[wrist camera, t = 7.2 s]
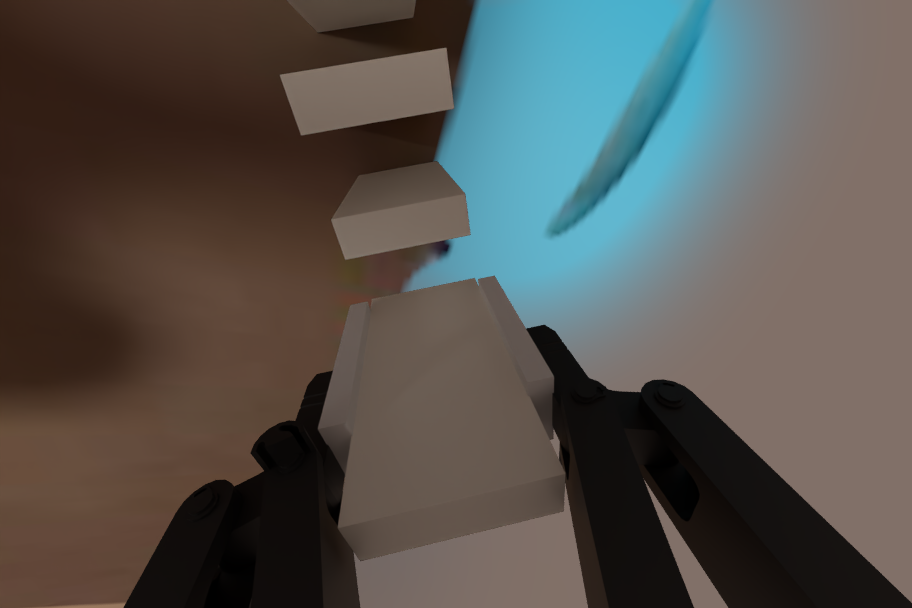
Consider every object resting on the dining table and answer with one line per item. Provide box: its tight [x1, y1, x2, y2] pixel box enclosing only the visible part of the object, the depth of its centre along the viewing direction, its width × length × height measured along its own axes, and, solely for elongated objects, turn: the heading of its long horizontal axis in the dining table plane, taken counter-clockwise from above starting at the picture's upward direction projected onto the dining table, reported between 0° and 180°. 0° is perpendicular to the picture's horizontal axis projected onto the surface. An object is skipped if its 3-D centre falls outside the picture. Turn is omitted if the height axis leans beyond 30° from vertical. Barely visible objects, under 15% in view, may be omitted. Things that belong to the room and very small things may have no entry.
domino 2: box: [331, 161, 470, 260], centre depth 17 cm, size 2×5×10 cm, turn 99°
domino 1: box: [338, 278, 565, 561], centre depth 12 cm, size 2×5×10 cm, turn 99°
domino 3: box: [280, 48, 454, 135], centre depth 14 cm, size 2×5×10 cm, turn 99°
